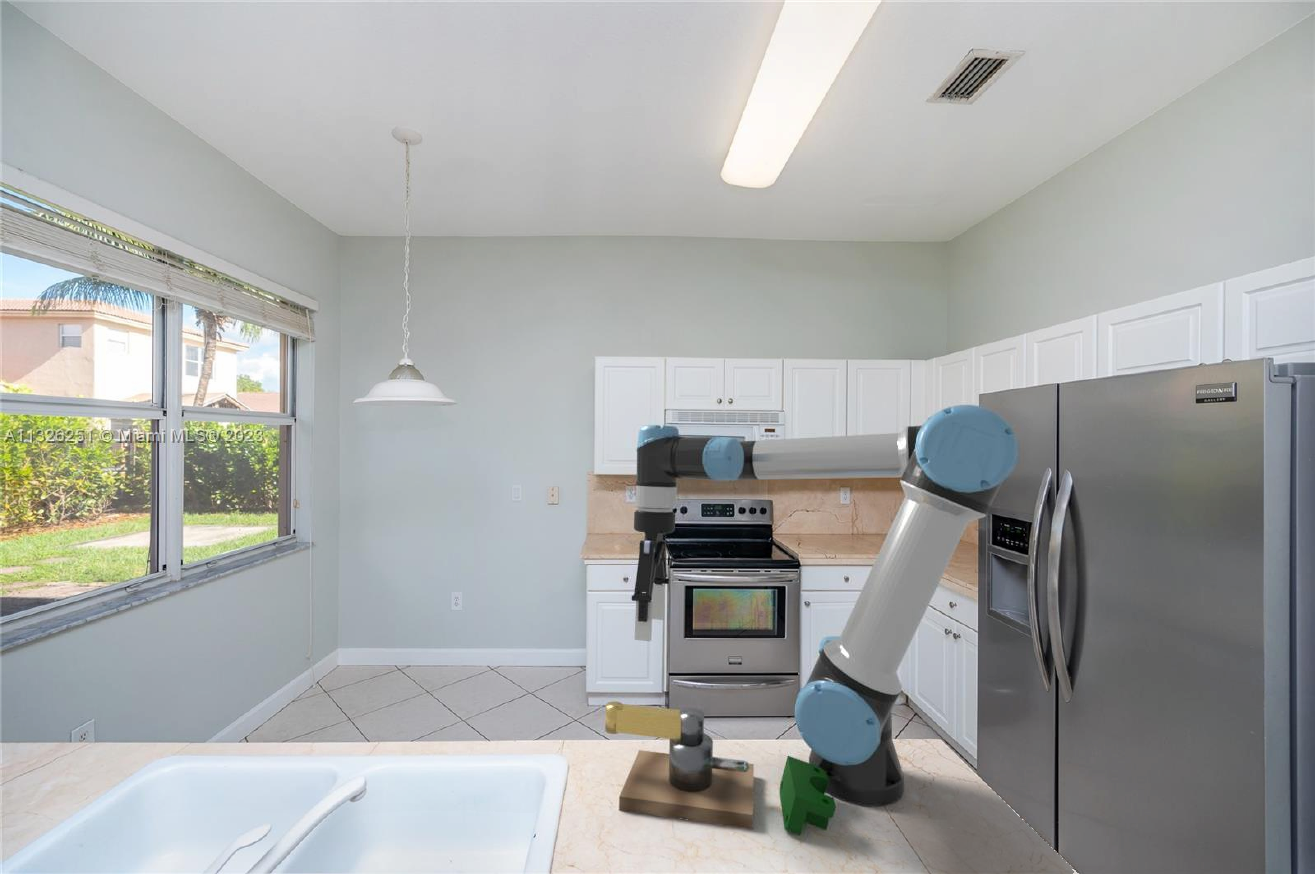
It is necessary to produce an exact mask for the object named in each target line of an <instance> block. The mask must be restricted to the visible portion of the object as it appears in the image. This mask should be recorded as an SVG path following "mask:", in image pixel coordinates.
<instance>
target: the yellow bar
mask: <svg viewBox="0 0 1315 874" xmlns="http://www.w3.org/2000/svg"><path fill="white" fill-rule="evenodd" d="M604 722H605V723H604V724H605V725H604V731H605V733H608V734H612V735H616V734H627V735H636V736H644V737H653V738H660V739H661V738H662V739H668V740H670V739H677V740H680V741H681V742H682V743H684V744H688V745H697V744H700V743H702V742H703V740H704V732H705V731H704V729H705V727H704V726H705V712H704V711H703V710H701V709H699V708H695V707H685V708H682V709H672V708H665V707H657V706H656V707H655V706H644V705H637V704H626V703H622V702H619V701H609V702H607V703H606V705H605V721H604Z"/></svg>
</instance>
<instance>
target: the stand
mask: <svg viewBox="0 0 1315 874" xmlns="http://www.w3.org/2000/svg"><path fill="white" fill-rule="evenodd" d="M747 763H748V762H747ZM748 764H749V770H748V771H747V772H737V771H729V770H721V769H713V768H712V784H711V786H710V787H709V788H707V789H706V790H703V791H699V792H686V791H682V790H679V789H677V788H675V787H674V786H672V785H671V783H670V782H669V753H666V752H656V751H650V750H641V749H639V750H638V752H637V755H636V757H635V759H634V762H633V764H632V766H631V769H630V771H629V773H628V775H627V778H626V780H625V782H624V784H623V787H622V790H621V791H620V795H619V797H618V800H619V801H618V802H619V803H618V810H619V811H623V812H630V813H636V814H637V813H638V814H644V815H651V816H657V817H658V816H659V817H664V818H673V819H677V818H678V820H679V818H682V819H681V820H684V819H688V820H687V821H691V820H692V822H693V821H694V822H698V821H699V823H705V822H708V823H707V824H714V825H721V826H727V827H734V828H741V829H748V830H753V829H754V779H755V778H754V771H755V769H754V763H748Z"/></svg>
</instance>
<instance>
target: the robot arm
mask: <svg viewBox="0 0 1315 874" xmlns="http://www.w3.org/2000/svg"><path fill="white" fill-rule="evenodd" d="M1018 457H1019V444H1018V439H1017V437H1016V434H1015V431H1014V430H1013V427H1011V425H1010V423H1009V422H1007V421H1006V419H1005V418H1004V417H1002V416H1001V415H1000V414H999V413H997V412H995V411H993V410H991V409H990V408H986V407H984V406H980V405H974V404H958V405H952V406H949V407H948V406H947V407H946V408H943V409H940V410H938V411H936V412H935V413H934V414H932V416H930V417H929V418H927V420H925V422H924V423H923V424H922V425H914V426H913V425H912V426H904V428H903V429H902V430H901V431H899V432H893V433H891V432H889V433H875V434H874V433H873V434H861V435H860V434H856V435H855V434H854V435H840V436H839V435H838V436H836V435H835V436H817V437H803V438H801V437H800V438H782V439H768V440H767V439H766V440H765V439H764V440H761V439H760V440H742V441H739V440H738V439H737V438H735V437H726V436H716V435H715V436H698V437H697V436H695V437H685V436H680V434H679V429H678V427H676V426H673V425H664V424H662V425H661V424H647V425H643V426H641V427H640V429H639V430H638V437H637V446H636V478H635V479H636V481H635V490H633V491H632V496H635V498H634V499H635V501H634V506H635V508H638V509H636V510H635V511H634V514H633V516H634V517H633V529H634V530H635V532H639V533H644V540H640V541H639V552H638V553H639V554H638V562H637V569H636V578H635V583H634V584H635V585H634V592H633V595H631V601H632V602H636V604H635V619H634V620H635V622H634V626H635V627H634V640H635V641H643V642H644V641H645V642H651V641H652V629H653V628H652V627H653V620H659V621H664V619H665V595H666V585H669V583H670V578H668V573H667V572H668V571H667V567H668V565H667V534H672V533H673V532H675V530H676V513H675V512H674V511H673V510H674V509H676V508H677V488H678V487H677V484H678V483H677V482H678V481H677V480H678V479H690V480H700V481H701V480H702V481H703V480H704V481H705V480H707V481H715V482H726V481H727V482H729V481H733V482H734V481H735V482H736V481H739V482H741V481H749V480H750V481H751V480H753V481H756V480H809V479H810V480H811V479H812V480H814V479H820V480H821V479H873V478H875V479H876V478H877V479H878V478H881V479H883V478H900V479H899V480H900V481H899V484H900V485H901V488H902V490H903V493H904V499H903V500H902V502H901V505H900V506H899V509H898V511H897V513H896V515H895V518H894V520H893V522H892V524H891V526H890V527H889V530H888V533H887V534H886V537H885V540H884V541H883V544H882V546H881V548H880V550H879V553H878V554H877V556H876V559H875V561H874V563H873V565H872V568H871V569H870V572H869V574H868V577H867V578H866V580H865V582H864V585H863V587H862V590H861V591H860V593H859V595H858V597H857V600H856V602H855V604H854V606H853V608H852V610H851V613H850V615H849V616H848V620H847V621H846V623H845V626H844V628H843V629H842V632H841V635H840V636H839V635H837V636H835V635H831V636H825V637H822V638H821V640H820V643H819V649H818V653H819V656H818V658H817V660H816V663H815V665H814V667H813V669H812V671H811V673H810V676H809V677H808V678H807V682H806V683H805V684H804V685H803V687H802V688H801V689H800V690H799V692H798V694H797V695H796V698H795V699H796V700H795V706H794V719H795V720H794V721H795V724H796V727H797V730H798V731H799V735H800V736H801V738H802V740H803V741H804V743H806V745H807V746H808V747H809V748H810V749H811V750H810V752H809V756H808V757H809V758H808V763H810V764H813V765H816V766H818V767H820V768H822V769H823V770H824V771H825V772H826V775H827V778H828V783H827V787H826V791H825V793H827V794H829V795H831V796H832V797H833V796H834V798H837V799H840V800H843V801H845V802H848V803H853V804H858V805H864V806H886V805H890V804H892V803H893V804H894V803H896V802H897V801H899V800H900V799H901V798H902V797H903V795H904V792H905V777H904V772H903V768H902V766H901V763H900V759H899V756H898V754H897V750H896V748H895V747H896V746H895V744H894V741H893V728H892V727H893V714H892V713H893V708H894V707H895V703H896V701H897V700H898V697H899V695H900V693H901V691H902V683H901V681H900V679H899V676H898V674H897V671H898V669H899V667H900V665H901V663H902V661H903V659H904V657H905V655H906V652H907V651H908V648H909V646H910V644H911V642H912V640H913V638H914V635H915V634H916V632H917V630H918V628H919V626H920V624H921V623H922V620H923V617H924V615H925V613H926V611H927V609H928V607H929V605H930V603H931V601H932V599H933V596H934V595H935V593H936V591H937V588H938V586H939V584H940V582H941V580H942V578H943V576H944V573H945V572H946V570H947V567H948V565H949V563H950V561H951V560H952V557H953V555H954V553H955V552H956V549H957V547H958V545H959V543H960V540H961V538H962V536H963V534H964V532H965V530H966V528H967V526H968V524H970V523H971V522H972V521H975V520H980V519H982V518H985V517H987V514H988V513H989V510H990V508H991V506H992V503H993V501H994V500H995V498H996V495H997V494H998V491H999V489H1000V488H1001V486H1002V484H1003V481H1004V480H1006V479H1007V478H1008V476H1010V474H1011V473H1012V472H1013V471H1014V469H1015V467H1016V464H1017V461H1018Z"/></svg>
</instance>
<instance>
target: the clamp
mask: <svg viewBox="0 0 1315 874" xmlns="http://www.w3.org/2000/svg"><path fill="white" fill-rule="evenodd" d="M827 783H828V778H827V775H826V772H825V771H824V770H823V769H822V768H820V767H818V766H816V765H813V764H810V763H809V762H806V761H804V760H801V759H799V758H796V757H793V756H790V755H787V756H786V761H785V764H784V769H783V773H782V776H781V781H780V783H779V784H780V785H779V798H780V799H779V800H780V805H781V806H780V807H781V814H782V821H783V828H784V831H787V832H789V833H792V834H795V835H797V836H801V835H802V833H803V830H804V826H805V824H807V825H810V826H812V827H815V828H818V829H821V830H824V831H827V828H828V825H829V821H830V819H833V818H834V815H835V813H836V808H837V804H836V801H835V797H833V796H830V795H827V794H826V787H827Z"/></svg>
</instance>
